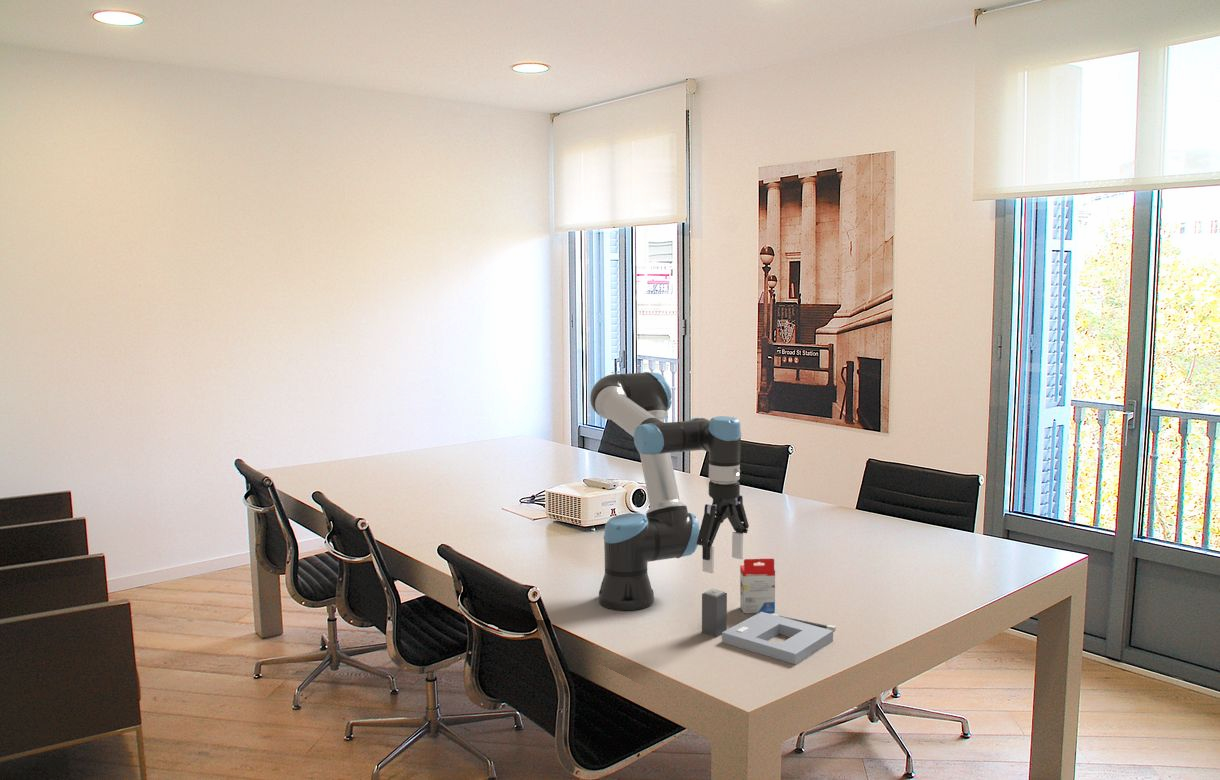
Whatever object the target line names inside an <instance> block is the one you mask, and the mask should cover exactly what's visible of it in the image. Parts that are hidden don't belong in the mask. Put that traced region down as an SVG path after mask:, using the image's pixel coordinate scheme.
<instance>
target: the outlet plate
mask: <svg viewBox="0 0 1220 780" xmlns="http://www.w3.org/2000/svg"><path fill="white" fill-rule="evenodd" d="M780 616H781V615H779V616H776V615H773V614H772V613H765V612H760V613H755V615H753V616H750V617H749V618H747V619H745V620H742V621H741V622H739V623H738V624H735V625H733V626H732V627H730V628H727V630H726V631H724V632H722V635H721V643H724V644H727V645H731V646H733V647H735V648H740V649H743V650H747V651H749V652H753V653H756V654H758V655H759V654H760V655H763V656H766V657H770V658H773V659H776V660H779V661H782V662H787V663H789V664H792V665H794V666H795V665H798V664H800V662H802V661H804V660H805V659H807V658H808V657H810V656H812V655H813V654H814V653H816V652H818V651H819V650H821V649H823V648H824V647H825V646H827V645H829V644H831V642H834V631H832V630H829V629H825V628H821V627H817V626H814V625H810V624H806V623H803V622H799V621H795V620H791V619H788V618H789V617H788V618H784V617H785V616H783V617H780ZM777 635H782V636H787V637H789V638H787V639H785V640H784V641H782V642H781V643H776V642H773V641H771V639H773V638H774V637H776V636H777Z"/></svg>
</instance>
